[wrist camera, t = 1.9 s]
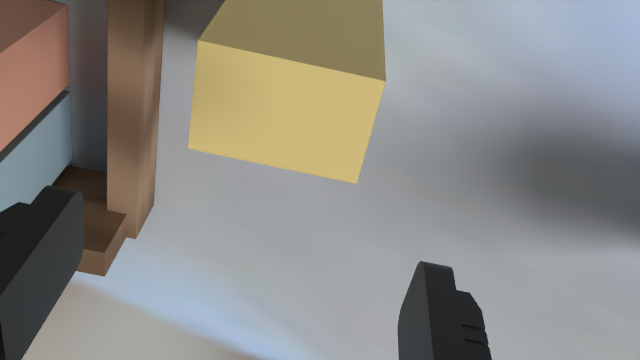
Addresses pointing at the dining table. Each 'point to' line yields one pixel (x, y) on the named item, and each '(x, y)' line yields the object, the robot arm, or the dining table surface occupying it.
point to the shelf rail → (123, 135)
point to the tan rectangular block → (290, 84)
